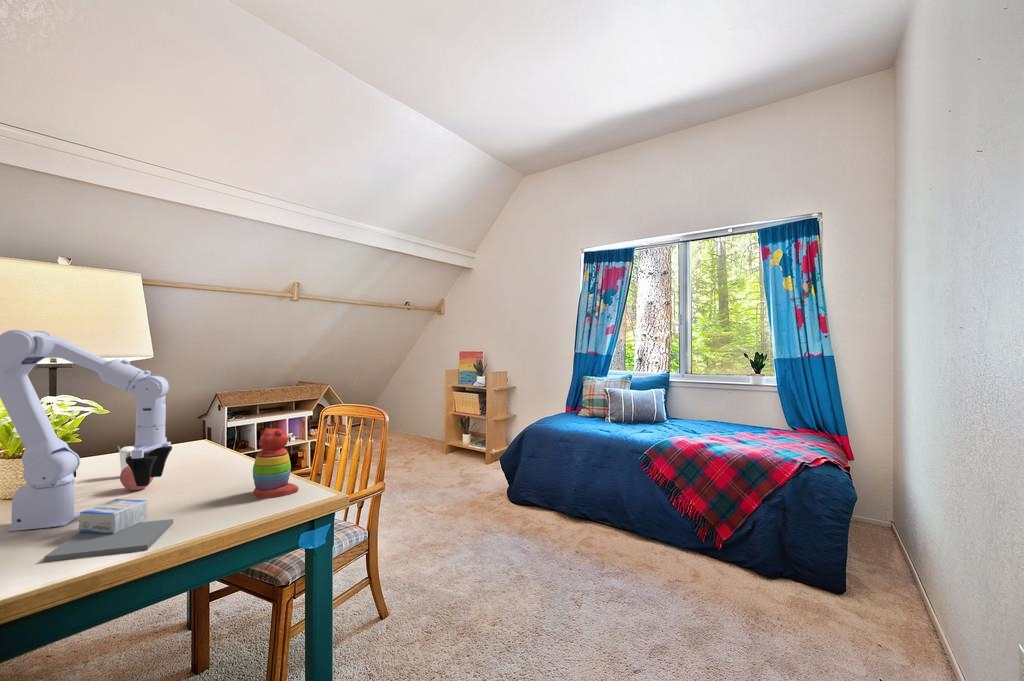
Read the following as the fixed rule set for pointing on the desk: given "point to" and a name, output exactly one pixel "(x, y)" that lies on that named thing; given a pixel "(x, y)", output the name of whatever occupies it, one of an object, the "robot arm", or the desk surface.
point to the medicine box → (113, 516)
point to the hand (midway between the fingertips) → (149, 481)
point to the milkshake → (125, 455)
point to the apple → (130, 479)
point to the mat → (111, 541)
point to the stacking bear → (272, 466)
